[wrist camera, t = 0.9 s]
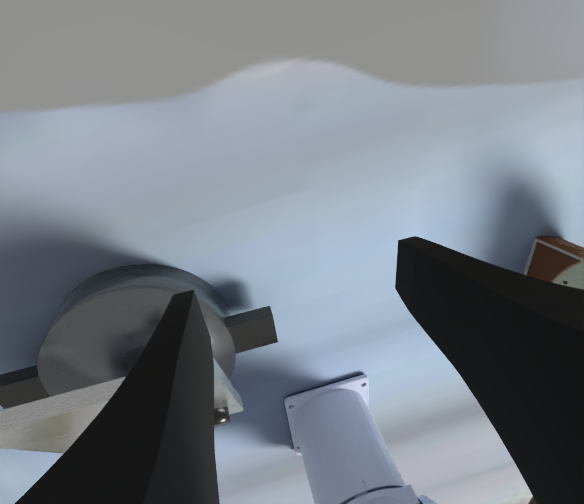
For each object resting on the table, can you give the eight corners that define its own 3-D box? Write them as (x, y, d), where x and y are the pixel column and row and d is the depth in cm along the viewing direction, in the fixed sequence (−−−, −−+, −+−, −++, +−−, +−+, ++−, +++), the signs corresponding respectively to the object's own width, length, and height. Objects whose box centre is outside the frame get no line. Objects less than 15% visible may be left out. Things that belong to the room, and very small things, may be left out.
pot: (279, 363, 28) (288, 395, 25) (67, 423, 26) (53, 465, 23) (254, 237, 21) (262, 262, 19) (-35, 301, 19) (-70, 341, 16)
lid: (243, 400, 25) (247, 424, 24) (98, 442, 23) (98, 469, 22) (210, 353, 15) (216, 391, 14) (-43, 422, 13) (-53, 468, 12)
